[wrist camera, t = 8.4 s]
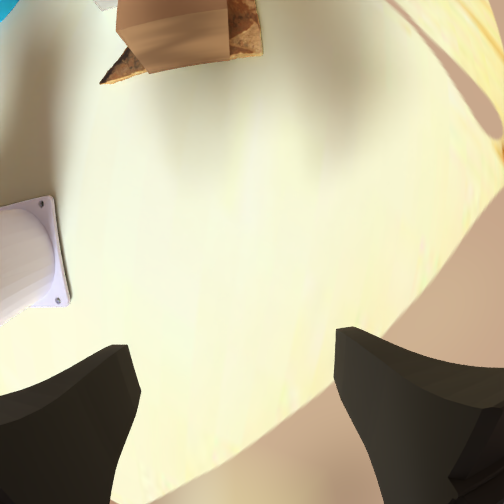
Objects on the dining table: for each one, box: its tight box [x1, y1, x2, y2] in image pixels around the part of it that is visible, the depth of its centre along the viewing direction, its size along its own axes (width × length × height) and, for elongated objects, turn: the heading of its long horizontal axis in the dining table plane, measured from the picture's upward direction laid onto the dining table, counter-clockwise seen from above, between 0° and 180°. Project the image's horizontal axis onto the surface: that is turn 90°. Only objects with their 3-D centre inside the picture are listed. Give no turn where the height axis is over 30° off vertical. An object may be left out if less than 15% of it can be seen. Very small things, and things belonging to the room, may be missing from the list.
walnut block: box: [116, 0, 230, 74], centre depth 12 cm, size 5×5×6 cm
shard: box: [99, 0, 263, 85], centre depth 16 cm, size 11×8×2 cm
